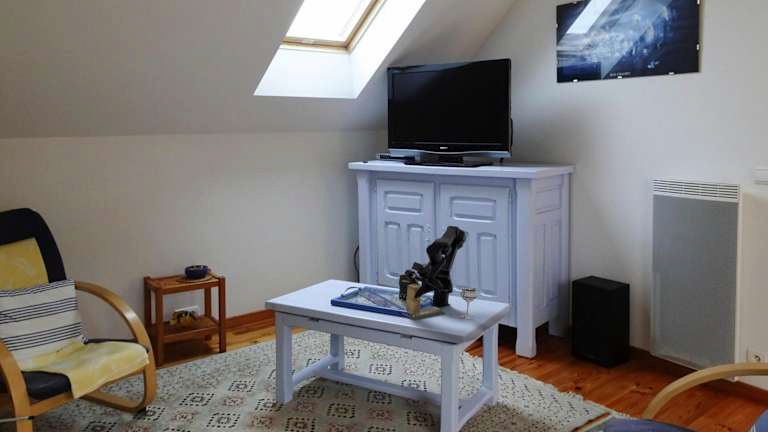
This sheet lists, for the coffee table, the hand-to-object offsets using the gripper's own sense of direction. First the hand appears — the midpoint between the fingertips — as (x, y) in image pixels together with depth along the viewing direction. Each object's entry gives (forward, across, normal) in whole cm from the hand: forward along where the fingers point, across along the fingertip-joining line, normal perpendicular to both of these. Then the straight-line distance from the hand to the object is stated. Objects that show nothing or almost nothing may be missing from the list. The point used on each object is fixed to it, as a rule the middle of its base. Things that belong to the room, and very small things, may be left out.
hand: (411, 296), depth 273 cm
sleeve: (+4, 0, +6) cm, 7 cm away
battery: (-4, -19, +16) cm, 26 cm away
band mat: (+1, -1, +11) cm, 11 cm away
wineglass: (-8, +13, +20) cm, 25 cm away
